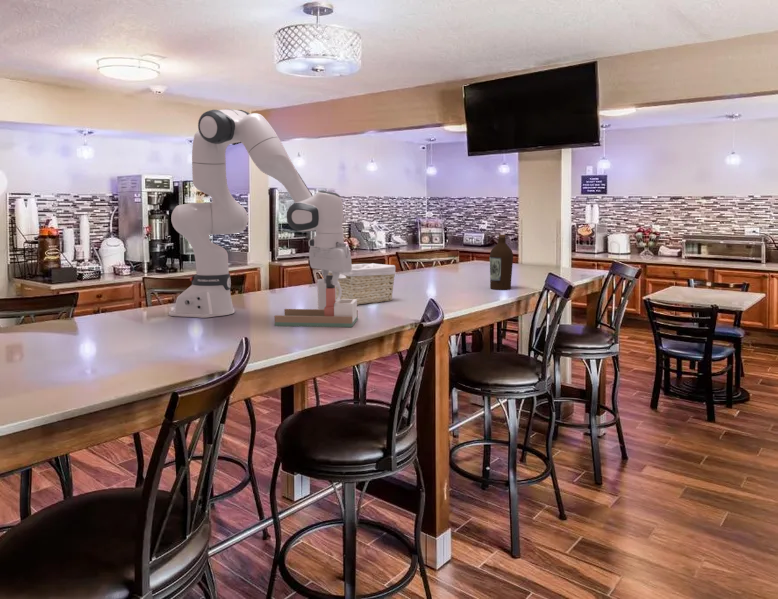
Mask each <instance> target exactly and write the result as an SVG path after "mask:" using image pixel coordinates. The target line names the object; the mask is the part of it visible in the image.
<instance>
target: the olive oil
mask: <svg viewBox="0 0 778 599" xmlns="http://www.w3.org/2000/svg"><path fill="white" fill-rule="evenodd" d="M506 236H507V235H506V234H498V238H497V240H498V241H497V244H496V245H495V246H494V247H493V248H492V249H491V250H490V253H489V280H490V281H489V282H490V283H489V286H490V289H491V290H496V291H497V290H498V291H508V290H511V289H512V276H513V275H512V274H513V265H514V253H513V250H512V249H511V247H510V246H509V245H508V244H507V243H506V241H507V240H506Z"/></svg>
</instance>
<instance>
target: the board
mask: <svg viewBox="0 0 778 599" xmlns="http://www.w3.org/2000/svg"><path fill="white" fill-rule="evenodd" d="M358 312H359V311H358V305H357V299H339V300H337V301H336V302H335V303H334V316H324V309H318V308H316V309H312V308H310V309H309V308H307V309H306V308H285V309H284V311H283V313H284V315H278V314H277V315H274V327H312V328H313V327H314V328H315V327H318V328H320V327H322V328H353V327H354V325H355V323H356V322H357V321H358V319H359V316H358V315H359V313H358Z"/></svg>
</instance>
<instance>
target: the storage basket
mask: <svg viewBox="0 0 778 599" xmlns="http://www.w3.org/2000/svg"><path fill="white" fill-rule="evenodd" d="M328 275H332V271H329V273H328ZM395 275H396V265H395V264H386V263H385V264H384V263H383V264H382V263H374V262H372V263H353V264H352V269H351V272H347V273H341V272H340V275H339V278H338V282H339V283H340V286H341V290H342V294H341V299H357V306H358V305H365V304H376V303H377V304H378V303H381V302H384V301H385V302H387V301H388V302H390V301H392V300H393V291H394V282H395ZM338 295H339V290H338V287H337V286H336V299H337V298H338Z"/></svg>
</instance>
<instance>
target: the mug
mask: <svg viewBox="0 0 778 599" xmlns="http://www.w3.org/2000/svg"><path fill="white" fill-rule="evenodd" d="M316 281H317V282H316V284H317V288H316V289H317V309H324V308H325V307H326V284H325V283H324V278H319V279H317V280H316ZM336 286H337V287H338V290H339V295H338V298H337V299H336ZM341 294H342V290H341V286H340V283H339V282H338V284H337V285H335V302H336V301H337V300H339V299H341Z"/></svg>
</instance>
